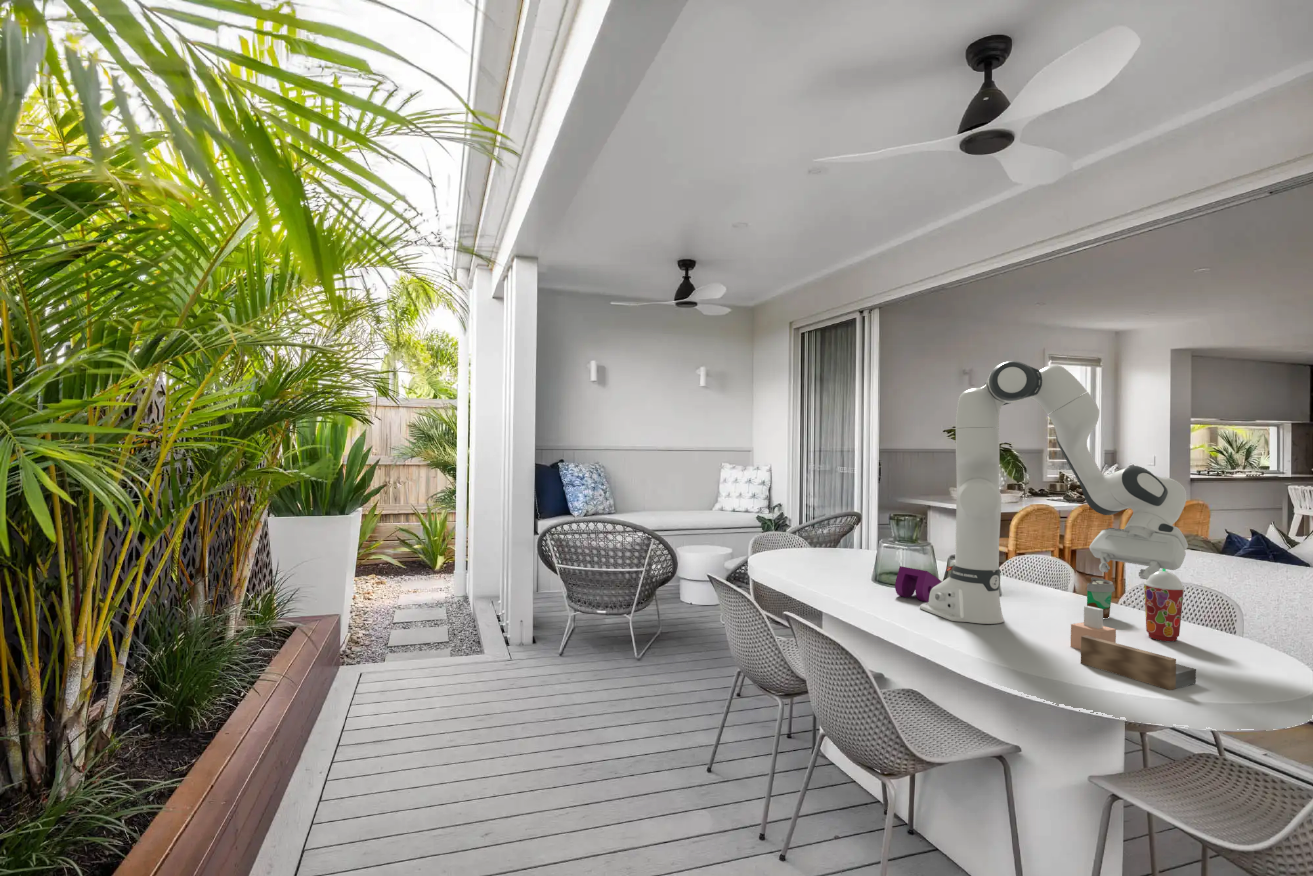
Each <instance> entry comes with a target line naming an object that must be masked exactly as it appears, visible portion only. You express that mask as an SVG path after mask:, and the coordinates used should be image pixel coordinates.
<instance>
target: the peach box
mask: <svg viewBox="0 0 1313 876" xmlns="http://www.w3.org/2000/svg"><path fill="white" fill-rule="evenodd" d="M1083 609H1084V610H1083V622H1076V623H1072V624H1070V648H1074V649H1077V648H1078V649H1077V650H1080V651H1081V636H1086V635H1087V636H1091V637H1095V638H1099V639H1102V640H1106V641H1110V642H1114V643H1117V642H1116V641H1117V640H1116V638H1117V637H1116V636H1117V629H1116V628H1112V627H1109V626H1104V619H1103V609H1100V608H1095V607H1091V606H1087V605H1085V606H1084V608H1083Z"/></svg>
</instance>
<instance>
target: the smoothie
mask: <svg viewBox="0 0 1313 876" xmlns="http://www.w3.org/2000/svg"><path fill="white" fill-rule="evenodd" d="M1161 569H1162V570H1159V571H1157V572H1156V573H1154V574H1152V575H1150V577H1149V578H1148V580H1146V579H1145V581H1144V582H1143V590H1144V608H1145V609H1144V611H1145V629H1146V630H1145V631H1146V633H1147V634H1148V637H1149V638H1150V637H1151V638H1150V639H1152V638H1153V639H1152V640H1155V639H1157V641H1160V640H1161V641H1160V642H1166V641H1174V642H1177V640H1178V637H1180V632H1181V624H1182V623H1181V622H1182V613H1183V601H1184V591H1185V586H1184V585H1183V584H1182V582H1181V580H1180V578H1179V577H1178V576H1177V575H1176V574H1174V573H1173V572H1170V571H1168V570H1167V569H1163V568H1161Z"/></svg>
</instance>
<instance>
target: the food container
mask: <svg viewBox="0 0 1313 876" xmlns="http://www.w3.org/2000/svg"><path fill="white" fill-rule="evenodd" d="M1113 592H1115V586H1114V584H1113V581H1111V580H1107V579H1105V578H1104V579H1103V578H1098V577H1091V581H1090V582H1088V583H1087V587H1086V606H1091V607H1095V608H1100V609H1103V618H1108V617H1109V618H1110V616H1111V615H1110V614H1111V605H1112V596H1113Z"/></svg>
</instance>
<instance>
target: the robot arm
mask: <svg viewBox="0 0 1313 876" xmlns="http://www.w3.org/2000/svg"><path fill="white" fill-rule="evenodd" d="M1024 399H1031V400H1033V401H1035V402H1036V403H1037V404H1038V405H1039V406H1040V407H1041V408H1042V410H1043V411H1044V413H1045V414H1046V415H1047V416H1048V418H1049V420H1050V422H1051V424H1052V425H1053V427H1054V429H1055V432H1056V436H1055V439H1056V443H1057V446H1058V448H1059V449H1060V451H1061V454H1062V455H1063V457H1064V459H1065V461H1066V462H1067V464H1068V466H1069V467H1070V469H1071V471H1072V473H1073V474H1074V476H1075V478H1076V480H1077V482H1078V484H1079V486H1080V488H1081V491H1082V495H1083V497H1084V499H1085V501H1086V503H1087V505H1088V507H1090V508H1091V509H1092V510H1093V511H1094V512H1097V513H1098V514H1100V515H1103V516H1112V515H1115V514H1118V513H1119V512H1122V511H1124V510H1127V509H1131V510H1132V515H1131V517H1130V518H1129V520H1128V522H1127V523H1126V525H1125V526H1124V528H1113V527H1108V528H1106V529H1101V531H1100V532H1099V533H1098V534H1097V536H1096V537H1095V538H1094V539H1093V540H1092V542H1091V543H1090V545H1089V550H1090V552H1091V554H1092V555H1093V557H1094V558H1097V559H1100V563H1099V566H1098V569H1099V571H1100V572H1102V573H1108V572H1109V570H1110V569H1111V567H1110V566H1109V564H1108V563H1109V562H1110V561H1115V562H1119V563H1120V562H1121V563H1127V564H1132V565H1138V566H1144V567H1146V568H1145V569H1143V568H1140V571H1139V572H1138V577H1139V579H1142V580H1145V581H1146V580H1148V578H1149V577H1150V575H1152V574H1154V573H1156V572H1157V571H1160V569H1166V570H1171V571H1176V570H1179V569H1180V568H1181V566H1182V565H1183V562H1184V560H1185V558H1186V550H1187V549H1188V547H1189V544H1188V541H1187V539H1186V537H1185V535H1184V534H1183V531H1181V530H1180V528H1179V527H1177V526H1175V525H1174V524H1175V523H1176V522H1177V521H1178V520H1179V518H1180V517H1181V514H1182V513H1183V511H1184V508H1185V505H1186V503H1187V491H1186V488H1185V486H1183V485H1182V484H1181V483H1180V481H1177V480H1176V479H1173V478H1170V477H1166V476H1165V477H1160V476H1158V475H1154V474H1153V473H1152V472H1151V471H1149V470H1148V469H1147V468H1145V467H1142V466H1138V465H1132V466H1128V467H1125V468H1122V469H1120V470H1117V471H1114V472H1113V473H1110V474H1107V475H1105V474H1104V473H1103V472H1102V471H1101V470H1100V468H1099V466H1098V464H1097V462H1096V461H1095V459H1094V458H1093V456H1092V454H1091V452H1090V450H1089V448H1088V439H1089V436H1090V434H1091V433H1092V432H1093V430H1094V429H1095V427H1096V425H1098V421H1099V418H1100V409H1099V407H1098V405H1097V403H1096V401H1095V399H1094V398H1093V396H1091V394H1090V393H1089V392H1088V390H1087V389H1086V388H1085V386H1084V385H1083V384H1082V383H1081V382H1080V381H1079V380H1078V379H1077V378H1076V377H1075V376H1074V375H1073V373H1071V372H1070V371H1069V370H1067V369H1066V368H1065V367H1064V366H1061V365H1059V364H1053V365H1048V366H1045V367H1043V368H1041V369H1038V368H1035V367H1032V366H1030V365H1028V364H1026V363H1023V362H1020V361H1016V360H1008V361H1004V362H1001V363H1000V364H998V365H996V366H995V367H994V368H993V369H992V370H991V371H990V372H989V375H988V377H987V379H986V381H985V382H984V385H983V386H982V387H974V388H973V387H972V388H969V389H967V390H964V391H962V393H961V394H960V395H959V397H958V400H957V406H956V407H957V408H956V415H955V462H956V463H955V466H956V467H955V469H956V503H955V504H956V507H955V508H956V509H955V511H956V512H955V515H956V516H955V548H954V549H955V551H954V553H955V555H954V564H953V565H951V566H946V571H947V572H950V573H949V576H948V577H947V578H946V579H944V580H943V581H942V580H941V581H942V582H941V583H939V584H938V585H936V586H934V587H933V588H932V589H931V591H930V595H929V602H923V603H921V604H920V605H919V609H920V610H922V611H923V610H924V611H926V612H929V613H931V614H933V615H936V616H939V617H941V618H944V619H946V620H948V621H952V622H961V623H962V622H965V623H971V624H988V625H990V624H991V625H993V624H995V625H996V624H1002V623H1004V622H1005V618H1004V615H1003V611H1002V606H1001V598H1000V584H1001V569H1000V567H999V565H1000V563H999V561H1000V537H1001V536H1000V534H1001V515H1002V514H1001V512H1002V496H1001V492H1000V457H1001V456H1000V452H1001V451H1000V410H1001V409H1002V406H1006V405H1010V404H1013V403H1017V402H1019V401H1022V400H1024Z"/></svg>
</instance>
